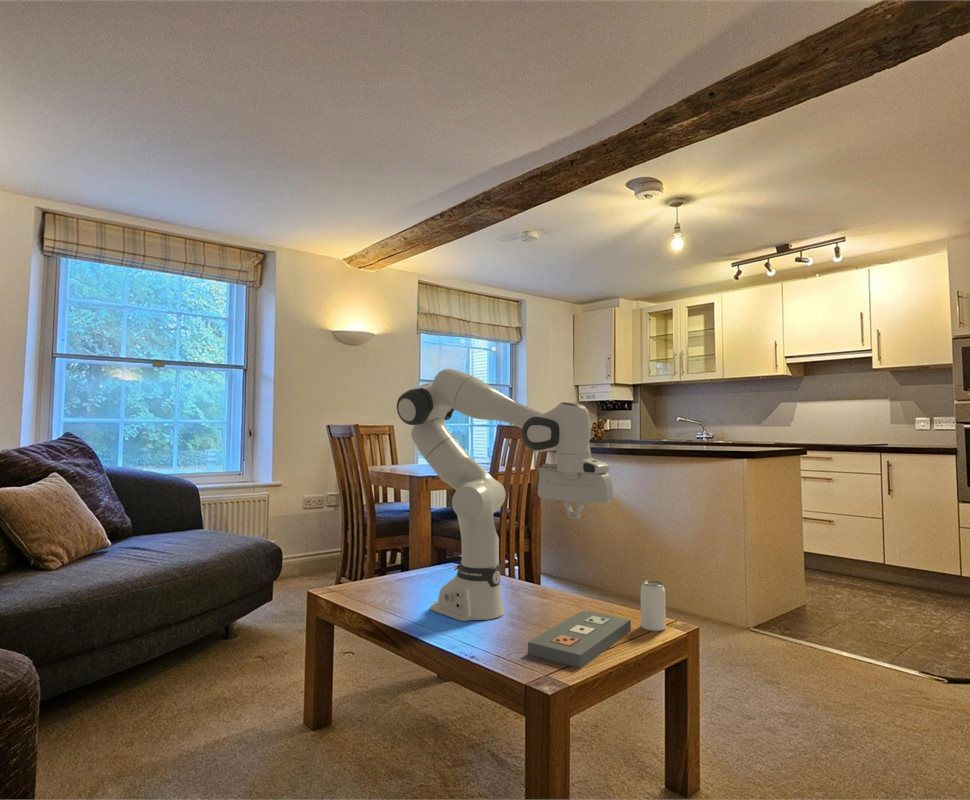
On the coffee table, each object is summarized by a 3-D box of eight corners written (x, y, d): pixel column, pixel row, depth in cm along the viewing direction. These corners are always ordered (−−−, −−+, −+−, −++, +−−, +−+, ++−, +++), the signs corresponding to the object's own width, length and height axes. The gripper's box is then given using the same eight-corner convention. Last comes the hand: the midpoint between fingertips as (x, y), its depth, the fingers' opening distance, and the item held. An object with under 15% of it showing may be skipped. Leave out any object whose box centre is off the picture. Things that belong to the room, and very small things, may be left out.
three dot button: (551, 653, 142) (551, 639, 142) (561, 647, 146) (561, 633, 146) (570, 658, 139) (569, 644, 139) (579, 651, 143) (579, 638, 143)
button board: (527, 654, 142) (527, 641, 142) (583, 621, 166) (583, 610, 166) (580, 668, 133) (580, 655, 134) (630, 631, 158) (630, 619, 158)
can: (646, 622, 165) (646, 578, 165) (669, 627, 161) (668, 582, 161) (636, 628, 160) (636, 583, 160) (659, 633, 156) (659, 587, 156)
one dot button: (568, 642, 149) (568, 629, 149) (577, 636, 153) (577, 624, 153) (586, 646, 146) (586, 633, 146) (595, 640, 150) (595, 627, 150)
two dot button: (584, 632, 156) (584, 619, 157) (592, 626, 160) (592, 615, 161) (601, 636, 153) (601, 623, 154) (609, 630, 158) (609, 618, 158)
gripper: (533, 463, 156) (533, 516, 156) (604, 466, 144) (605, 523, 144) (544, 462, 161) (545, 513, 161) (615, 465, 149) (615, 520, 149)
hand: (574, 518), depth 152 cm, fingers closed
